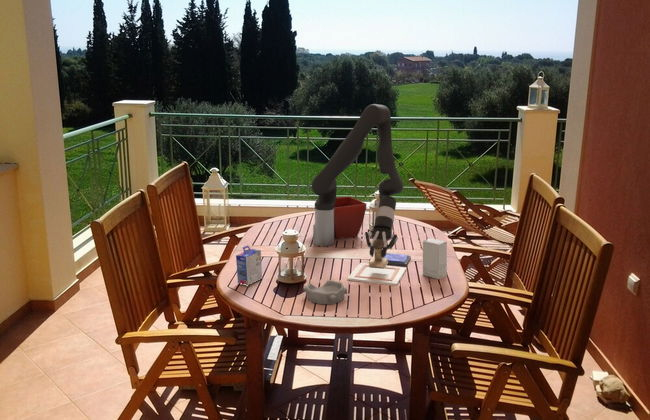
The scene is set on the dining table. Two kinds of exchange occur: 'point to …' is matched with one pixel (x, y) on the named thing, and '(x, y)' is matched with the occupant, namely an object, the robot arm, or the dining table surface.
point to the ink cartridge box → (249, 266)
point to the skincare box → (435, 258)
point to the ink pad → (397, 259)
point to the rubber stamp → (378, 256)
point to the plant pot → (348, 217)
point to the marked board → (377, 274)
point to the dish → (326, 292)
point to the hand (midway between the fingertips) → (377, 256)
